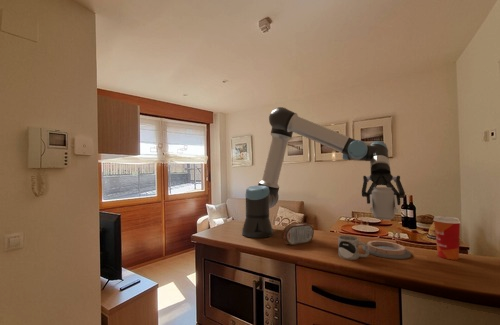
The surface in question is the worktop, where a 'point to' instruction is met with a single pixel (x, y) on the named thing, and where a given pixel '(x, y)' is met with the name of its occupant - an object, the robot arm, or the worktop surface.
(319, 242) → the worktop surface
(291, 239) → the tin
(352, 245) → the mug
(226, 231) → the worktop surface
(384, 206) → the can
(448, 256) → the paper cup
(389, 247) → the coaster
